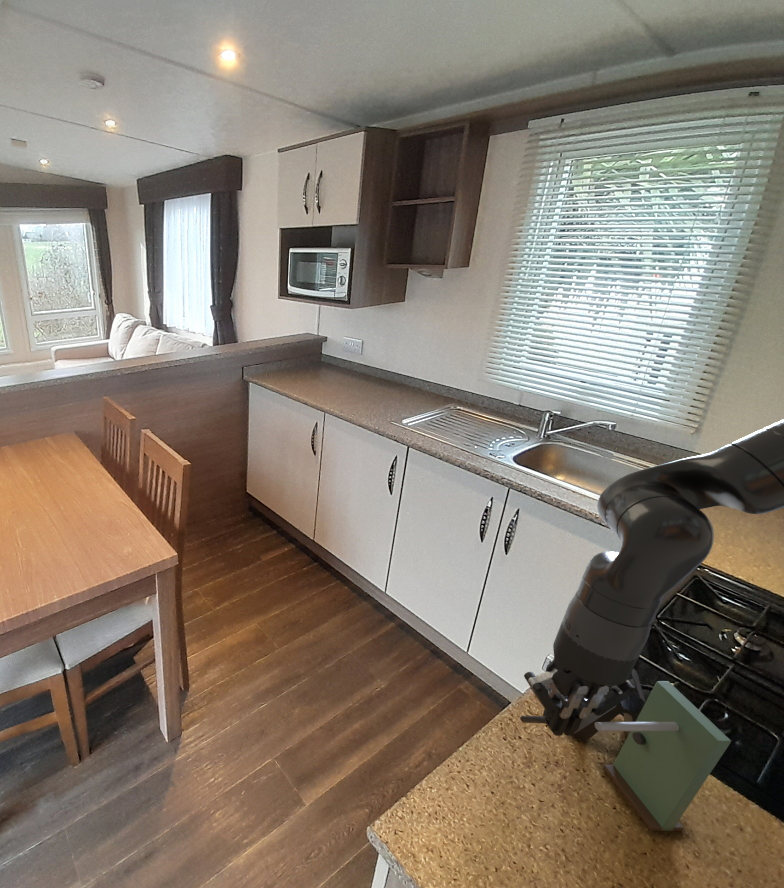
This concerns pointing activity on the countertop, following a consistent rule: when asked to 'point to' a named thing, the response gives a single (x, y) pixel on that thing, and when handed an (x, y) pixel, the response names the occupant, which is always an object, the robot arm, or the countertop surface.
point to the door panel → (665, 757)
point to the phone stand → (615, 712)
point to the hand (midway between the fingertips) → (558, 729)
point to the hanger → (535, 717)
